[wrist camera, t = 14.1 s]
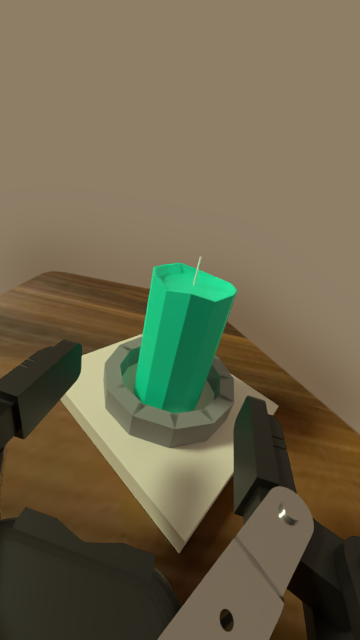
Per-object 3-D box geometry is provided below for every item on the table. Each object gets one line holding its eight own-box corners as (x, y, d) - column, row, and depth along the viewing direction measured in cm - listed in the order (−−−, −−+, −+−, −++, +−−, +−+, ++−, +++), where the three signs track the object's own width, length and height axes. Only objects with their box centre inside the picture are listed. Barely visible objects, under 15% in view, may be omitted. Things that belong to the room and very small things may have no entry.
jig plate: (272, 416, 23) (287, 390, 21) (179, 553, 13) (194, 523, 11) (158, 336, 31) (163, 313, 30) (46, 381, 21) (44, 350, 19)
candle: (127, 369, 22) (145, 239, 17) (184, 364, 25) (217, 249, 19) (142, 423, 18) (175, 267, 12) (211, 410, 20) (264, 276, 15)
